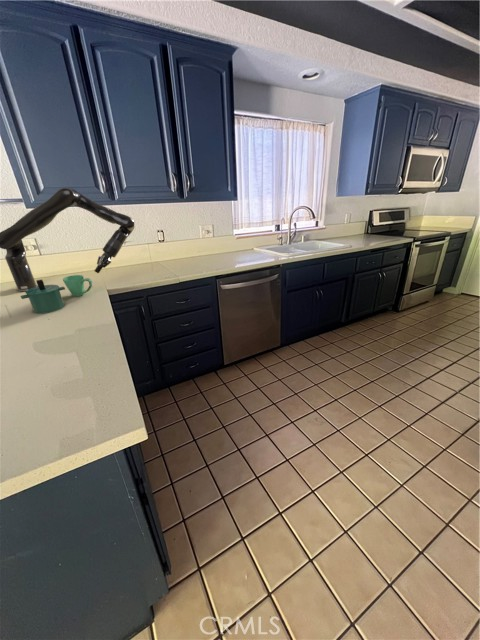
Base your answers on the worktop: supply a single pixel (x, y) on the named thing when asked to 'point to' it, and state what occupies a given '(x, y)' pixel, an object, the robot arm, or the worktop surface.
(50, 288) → the pot lid
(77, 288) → the mug
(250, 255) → the worktop surface
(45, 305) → the pot
